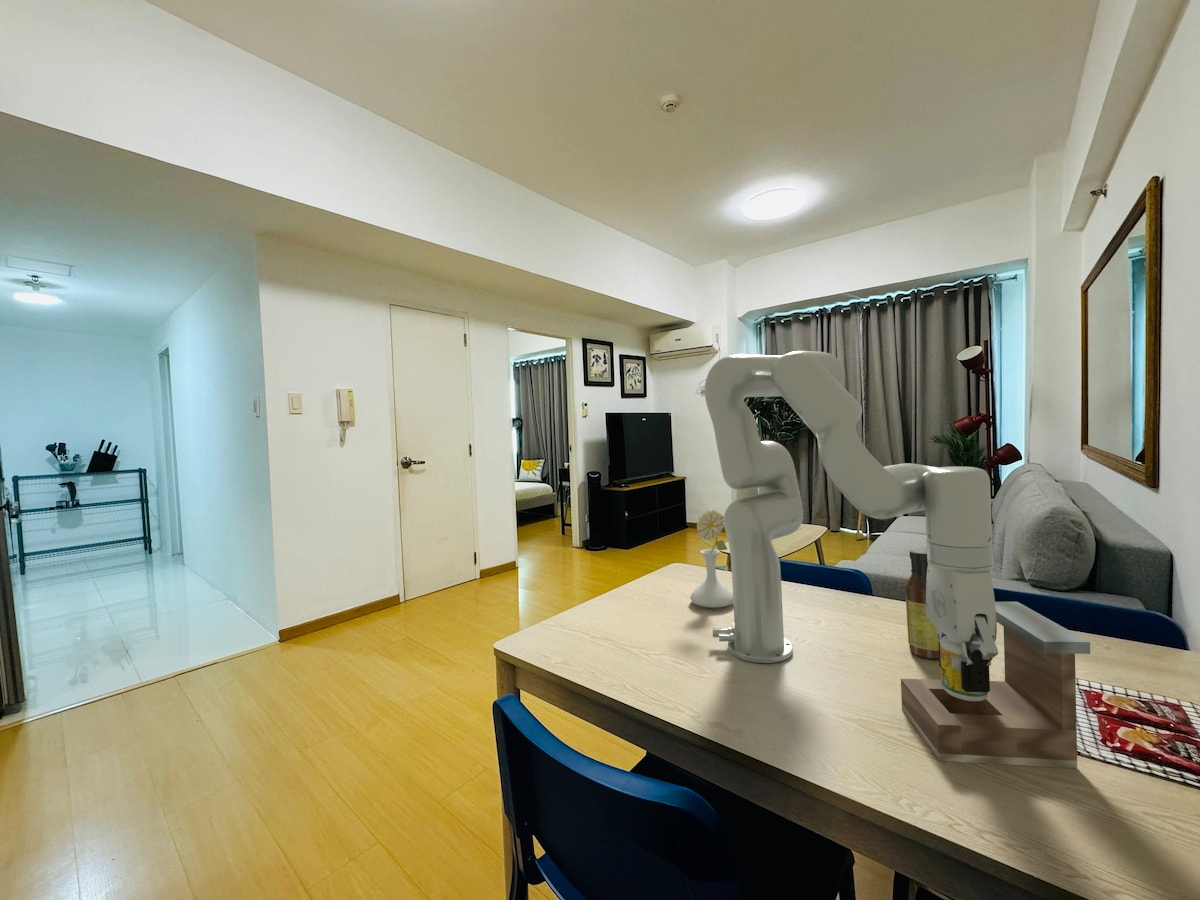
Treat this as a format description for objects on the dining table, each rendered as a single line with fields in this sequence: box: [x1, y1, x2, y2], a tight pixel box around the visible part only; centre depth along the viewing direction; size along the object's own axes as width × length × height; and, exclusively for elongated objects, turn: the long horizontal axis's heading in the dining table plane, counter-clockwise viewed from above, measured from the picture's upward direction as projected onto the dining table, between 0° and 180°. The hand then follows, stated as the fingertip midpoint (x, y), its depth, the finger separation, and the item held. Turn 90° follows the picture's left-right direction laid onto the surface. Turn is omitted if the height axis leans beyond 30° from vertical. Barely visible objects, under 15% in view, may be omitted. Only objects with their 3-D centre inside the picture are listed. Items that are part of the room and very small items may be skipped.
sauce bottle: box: [905, 548, 940, 660], centre depth 95 cm, size 7×6×20 cm
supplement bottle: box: [940, 635, 988, 701], centre depth 71 cm, size 5×5×10 cm
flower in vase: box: [689, 509, 734, 609], centre depth 127 cm, size 13×11×25 cm
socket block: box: [900, 601, 1091, 769], centre depth 70 cm, size 17×14×17 cm
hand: (963, 678), depth 71 cm, fingers closed on supplement bottle, 5 cm apart
